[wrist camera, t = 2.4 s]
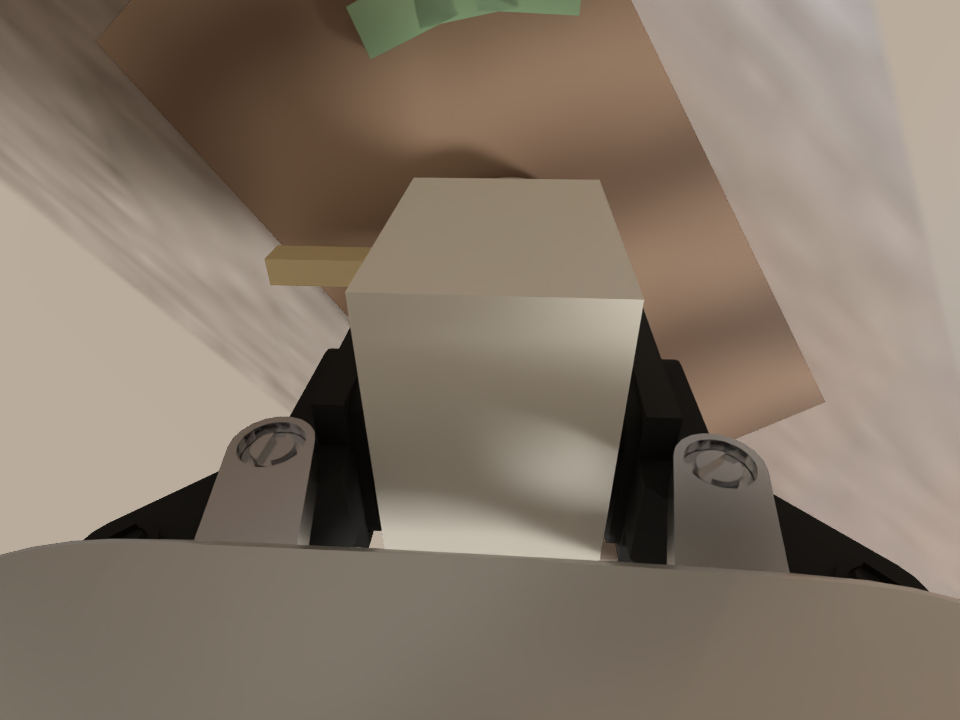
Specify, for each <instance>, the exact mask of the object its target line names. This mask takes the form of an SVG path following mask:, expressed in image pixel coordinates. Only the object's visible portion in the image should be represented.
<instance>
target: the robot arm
mask: <svg viewBox="0 0 960 720" xmlns="http://www.w3.org/2000/svg"><path fill="white" fill-rule="evenodd" d="M373 531H382V528H381V522H380V515H379V509H378V502H377V496H376V490H375V483H374V477H373V470H372V464H371V457H370V451H369V444H368V438H367V431H366V425H365V418H364V412H363V406H362V399H361V393H360V386H359V380H358V373H357V367H356V360H355V354H354V347H353V341H352V334H351V328H350V329H349V331H348V333H347V335H346V336H345V338H344V340H343V342H342V344H341V346H340V348H339V349H328V350H327V351H326V353H325V354H324V356H323V358H322V359H321V361H320V363H319V365H318V367H317V368H316V370H315V372H314V374H313V376H312V377H311V379H310V381H309V383H308V385H307V386H306V388H305V390H304V392H303V394H302V395H301V397H300V399H299V401H298V403H297V404H296V406H295V408H294V410H293V412H292V413H291V415H290V417H274V418H269V419H264V420H262V421H259V422H256V423H253V424H251V425H250V426H248V427H246V428H245V429H243V430H241V431H240V432H239V433H238V434H237V435H236V436H235V437H234V438H233V439H232V441H231V442H230V444H229V446H228V447H227V450H226V453H225V456H224V458H223V461H222V464H221V467H220V470H219V471H218V472H216V473H214V474H212V475H210V476H208V477H206V478H203V479H201V480H199V481H197V482H195V483H193V484H191V485H189V486H187V487H184V488H182V489H180V490H178V491H176V492H174V493H172V494H169V495H167V496H165V497H163V498H161V499H159V500H157V501H155V502H152V503H150V504H148V505H146V506H144V507H142V508H140V509H137V510H135V511H133V512H131V513H129V514H127V515H125V516H123V517H120V518H118V519H116V520H114V521H112V522H110V523H108V524H106V525H104V526H103V527H101V528H99V529H97V530H96V531H94V532H92V533H91V534H90V535H89V536H88V537H86V538H85V539H84V540H82V541H70V542H63V543H56V544H49V545H42V546H36V547H30V548H26V549H22V550H18V551H14V552H10V553H6V554H2V555H0V720H960V599H957V598H953V597H948V596H944V595H940V594H936V593H932V592H929V591H928V590H927V589H926V588H925V587H924V586H923V585H922V584H921V583H920V582H919V581H918V580H917V579H916V578H915V577H914V576H913V575H911V574H910V573H908V572H907V571H905V570H904V569H902V568H901V567H899V566H898V565H896V564H895V563H893V562H891V561H889V560H888V559H886V558H884V557H882V556H881V555H879V554H877V553H875V552H874V551H872V550H870V549H868V548H867V547H865V546H863V545H861V544H860V543H858V542H856V541H854V540H852V539H851V538H849V537H847V536H845V535H844V534H842V533H840V532H838V531H837V530H835V529H833V528H831V527H830V526H828V525H826V524H824V523H823V522H821V521H819V520H817V519H816V518H814V517H812V516H810V515H809V514H807V513H805V512H803V511H802V510H800V509H798V508H796V507H795V506H793V505H791V504H789V503H788V502H786V501H784V500H782V499H781V498H779V497H777V496H775V495H774V494H773V491H772V486H771V481H770V476H769V472H768V469H767V467H766V464H765V462H764V460H763V459H762V458H761V457H760V456H759V455H758V454H757V453H756V452H755V451H754V450H753V449H751V448H750V447H748V446H747V445H745V444H744V443H742V442H739V441H737V440H735V439H733V438H730V437H726V436H722V435H718V434H709V432H708V429H707V427H706V425H705V422H704V420H703V417H702V415H701V412H700V410H699V407H698V405H697V402H696V400H695V397H694V395H693V393H692V390H691V388H690V385H689V383H688V380H687V378H686V375H685V373H684V370H683V368H682V365H681V364H680V362H679V360H676V359H661V356H660V353H659V351H658V348H657V345H656V342H655V339H654V337H653V334H652V331H651V328H650V326H649V323H648V320H647V317H646V314H645V312H644V309H642V315H641V321H640V327H639V333H638V339H637V345H636V351H635V356H634V362H633V368H632V374H631V380H630V386H629V392H628V397H627V403H626V409H625V415H624V421H623V427H622V433H621V438H620V444H619V450H618V456H617V462H616V468H615V474H614V480H613V485H612V491H611V497H610V503H609V509H608V515H607V521H606V526H605V532H604V536H605V541H606V543H615V544H616V551H617V557H618V562H612V561H595V560H578V559H561V558H543V557H525V556H507V555H489V554H471V553H452V552H434V551H415V550H396V549H377V548H369V545H370V542H371V538H372V535H373ZM356 547H361V548H356ZM628 562H634V563H628Z"/></svg>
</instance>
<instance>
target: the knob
mask: <svg viewBox="0 0 960 720" xmlns="http://www.w3.org/2000/svg"><path fill="white" fill-rule="evenodd" d="M265 263H266V267H267V272H268V276H269V280H270V284H271V285H290V286H330V287H348V288H347V290H346V291H345V296H346V302H347V309H348V315H349V322H350V328H351V334H352V341H353V347H354V354H355V360H356V367H357V373H358V380H359V386H360V393H361V399H362V406H363V412H364V418H365V425H366V431H367V438H368V444H369V451H370V457H371V464H372V470H373V477H374V483H375V490H376V496H377V502H378V509H379V515H380V522H381V528H382V535H383V541H384V548H385V549H396V550H415V551H434V552H452V553H471V554H489V555H507V556H525V557H543V558H561V559H578V560H595V561H600V556H601V550H602V544H603V538H604V532H605V526H606V521H607V515H608V509H609V503H610V497H611V491H612V485H613V480H614V474H615V468H616V462H617V456H618V450H619V444H620V438H621V433H622V427H623V421H624V415H625V409H626V403H627V397H628V392H629V386H630V380H631V374H632V368H633V362H634V356H635V351H636V345H637V339H638V333H639V327H640V321H641V315H642V309H643V304H644V298H643V295H642V293H641V290H640V287H639V284H638V282H637V279H636V276H635V274H634V271H633V268H632V266H631V263H630V260H629V258H628V255H627V252H626V250H625V247H624V244H623V241H622V239H621V236H620V233H619V231H618V228H617V225H616V223H615V220H614V217H613V215H612V212H611V209H610V207H609V204H608V201H607V199H606V196H605V193H604V190H603V188H602V185H601V182H600V180H578V179H525V178H518V177H501V178H413V180H412V181H411V183H410V185H409V186H408V188H407V190H406V191H405V193H404V195H403V196H402V198H401V200H400V201H399V203H398V205H397V206H396V208H395V210H394V211H393V213H392V215H391V216H390V218H389V220H388V221H387V223H386V225H385V226H384V228H383V230H382V231H381V233H380V235H379V236H378V238H377V240H376V241H375V243H374V245H373V246H372V247H327V246H277V247H276V248H275V249H274V250H273V251H272V252H271V253H270V254H269V255H268V256H267V257H266V258H265Z"/></svg>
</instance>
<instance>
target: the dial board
mask: <svg viewBox="0 0 960 720" xmlns="http://www.w3.org/2000/svg"><path fill="white" fill-rule="evenodd" d="M96 43H97V44H98V45H99V46H100V47H101V48H102V49H103V50H104V51H105V52H106V53H107V55H108V56H109V57H110V58H111V59H112V60H113V61H114V62H115V63H116V64H117V65H118V67H119V68H120V69H121V70H122V71H123V72H124V73H125V74H126V75H127V76H128V77H129V79H130V80H131V81H132V82H133V83H134V84H135V85H136V86H137V87H138V88H139V89H140V90H141V92H142V93H143V94H144V95H145V96H146V97H147V98H148V99H149V100H150V101H151V102H152V104H153V105H154V106H155V107H156V108H157V109H158V110H159V111H160V112H161V113H162V114H163V116H164V117H165V118H166V119H167V120H168V121H169V122H170V123H171V124H172V125H173V126H174V127H175V129H176V130H177V131H178V132H179V133H180V134H181V135H182V136H183V137H184V138H185V139H186V141H187V142H188V143H189V144H190V145H191V146H192V147H193V148H194V149H195V150H196V151H197V152H198V154H199V155H200V156H201V157H202V158H203V159H204V160H205V161H206V162H207V163H208V164H209V166H210V167H211V168H212V169H213V170H214V171H215V172H216V173H217V174H218V175H219V176H220V178H221V179H222V180H223V181H224V182H225V183H226V184H227V185H228V186H229V187H230V188H231V189H232V191H233V192H234V193H235V194H236V195H237V196H238V197H239V198H240V199H241V200H242V201H243V203H244V204H245V205H246V206H247V207H248V208H249V209H250V210H251V211H252V212H253V213H254V214H255V216H256V217H257V218H258V219H259V220H260V221H261V222H262V223H263V224H264V225H265V226H266V228H267V229H268V230H269V231H270V232H271V233H272V234H273V235H274V236H275V237H276V238H277V240H278V241H279V242H280V243H281V244H282V245H283V246H327V247H372V246H373V245H374V243H375V241H376V240H377V238H378V236H379V235H380V233H381V231H382V230H383V228H384V226H385V225H386V223H387V221H388V220H389V218H390V216H391V215H392V213H393V211H394V210H395V208H396V206H397V205H398V203H399V201H400V200H401V198H402V196H403V195H404V193H405V191H406V190H407V188H408V186H409V185H410V183H411V181H412V180H413V178H501V177H518V178H525V179H578V180H600V182H601V185H602V188H603V190H604V193H605V196H606V199H607V201H608V204H609V207H610V209H611V212H612V215H613V217H614V220H615V223H616V225H617V228H618V231H619V233H620V236H621V239H622V241H623V244H624V247H625V250H626V252H627V255H628V258H629V260H630V263H631V266H632V268H633V271H634V274H635V276H636V279H637V282H638V284H639V287H640V290H641V293H642V295H643V298H644V304H643V309H644V312H645V314H646V317H647V320H648V323H649V326H650V328H651V331H652V334H653V337H654V339H655V342H656V345H657V348H658V351H659V353H660V356H661V359H676V360H679V362H680V364H681V365H682V368H683V370H684V373H685V375H686V378H687V380H688V383H689V385H690V388H691V390H692V393H693V395H694V397H695V400H696V402H697V405H698V407H699V410H700V412H701V415H702V417H703V420H704V422H705V425H706V427H707V429H708V432H709V434H718V435H722V436H726V437H730V438H733V439H736V438H739V437H741V436H744V435H746V434H749V433H751V432H753V431H756V430H758V429H761V428H763V427H766V426H768V425H770V424H773V423H775V422H778V421H780V420H783V419H785V418H788V417H790V416H792V415H795V414H797V413H800V412H802V411H805V410H807V409H810V408H812V407H814V406H817V405H819V404H822V403H824V402H825V400H824V398H823V396H822V394H821V392H820V390H819V388H818V386H817V384H816V382H815V380H814V378H813V376H812V373H811V371H810V369H809V367H808V365H807V363H806V361H805V359H804V357H803V355H802V353H801V351H800V349H799V347H798V345H797V342H796V340H795V338H794V336H793V334H792V332H791V330H790V328H789V326H788V324H787V322H786V320H785V318H784V316H783V313H782V311H781V309H780V307H779V305H778V303H777V301H776V299H775V297H774V295H773V293H772V291H771V289H770V287H769V285H768V282H767V280H766V278H765V276H764V274H763V272H762V270H761V268H760V266H759V264H758V262H757V260H756V258H755V256H754V254H753V251H752V249H751V247H750V245H749V243H748V241H747V239H746V237H745V235H744V233H743V231H742V229H741V227H740V225H739V222H738V220H737V218H736V216H735V214H734V212H733V210H732V208H731V206H730V204H729V202H728V200H727V198H726V196H725V194H724V191H723V189H722V187H721V185H720V183H719V181H718V179H717V177H716V175H715V173H714V171H713V169H712V167H711V165H710V163H709V160H708V158H707V156H706V154H705V152H704V150H703V148H702V146H701V144H700V142H699V140H698V138H697V136H696V134H695V131H694V129H693V127H692V125H691V123H690V121H689V119H688V117H687V115H686V113H685V111H684V109H683V107H682V105H681V103H680V100H679V98H678V96H677V94H676V92H675V90H674V88H673V86H672V84H671V82H670V80H669V78H668V76H667V74H666V72H665V69H664V67H663V65H662V63H661V61H660V59H659V57H658V55H657V53H656V51H655V49H654V47H653V45H652V43H651V40H650V38H649V36H648V34H647V32H646V30H645V28H644V26H643V24H642V22H641V20H640V18H639V16H638V14H637V12H636V9H635V7H634V5H633V3H632V1H631V0H131V1H130V2H129V3H128V4H127V5H126V7H125V8H124V9H123V10H122V11H121V12H120V14H119V15H118V16H117V17H116V18H115V19H114V21H113V22H112V23H111V24H110V25H109V26H108V28H107V29H106V30H105V31H104V32H103V33H102V35H101V36H100V37H99V38H98V39H97V41H96ZM321 287H322V288H323V290H324V291H325V292H326V293H327V294H328V295H329V296H330V297H331V298H332V299H333V300H334V302H335V303H336V304H337V305H338V306H339V307H340V308H341V309H342V310H343V311H344V312H345V313H346V315H347V316H348V317H349V315H348V309H347V302H346V296H345V291H346V290H347V288H348V287H330V286H321Z"/></svg>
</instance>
